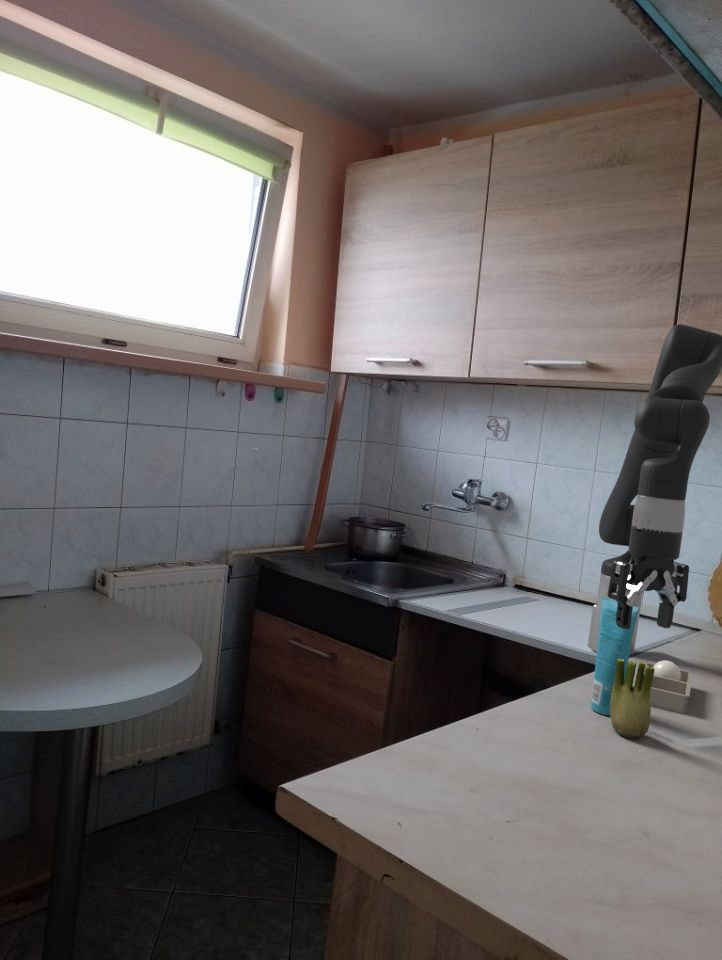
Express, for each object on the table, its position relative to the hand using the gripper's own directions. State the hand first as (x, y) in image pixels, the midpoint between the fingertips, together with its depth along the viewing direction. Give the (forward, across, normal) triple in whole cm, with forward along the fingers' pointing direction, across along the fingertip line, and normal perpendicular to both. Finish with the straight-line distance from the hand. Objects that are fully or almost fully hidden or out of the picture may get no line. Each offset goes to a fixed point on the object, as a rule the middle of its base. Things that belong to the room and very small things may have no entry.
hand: (643, 627), depth 120 cm
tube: (+18, -4, -9) cm, 20 cm away
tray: (+17, -20, -12) cm, 29 cm away
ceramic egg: (+16, -23, -15) cm, 32 cm away
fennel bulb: (+18, 0, 0) cm, 18 cm away
